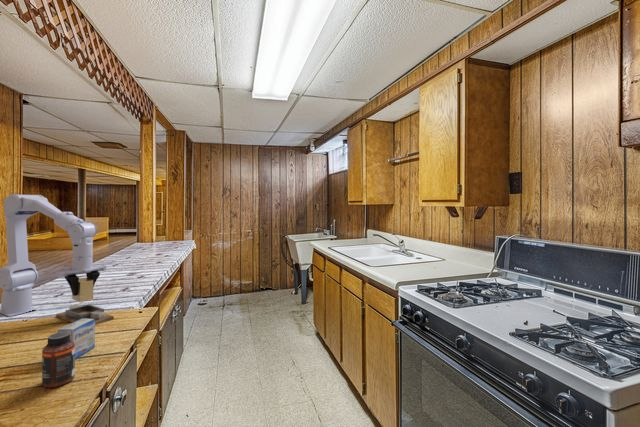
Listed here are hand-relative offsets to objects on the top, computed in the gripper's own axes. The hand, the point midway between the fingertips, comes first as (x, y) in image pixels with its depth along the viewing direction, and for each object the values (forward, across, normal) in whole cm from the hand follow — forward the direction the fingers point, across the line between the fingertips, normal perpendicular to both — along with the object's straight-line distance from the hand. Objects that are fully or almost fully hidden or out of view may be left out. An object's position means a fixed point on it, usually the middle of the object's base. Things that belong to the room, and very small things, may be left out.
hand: (82, 293), depth 110 cm
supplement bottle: (+9, -21, -39) cm, 45 cm away
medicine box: (+9, -13, -28) cm, 32 cm away
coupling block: (+2, 0, 0) cm, 2 cm away
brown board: (+9, +1, -1) cm, 9 cm away
